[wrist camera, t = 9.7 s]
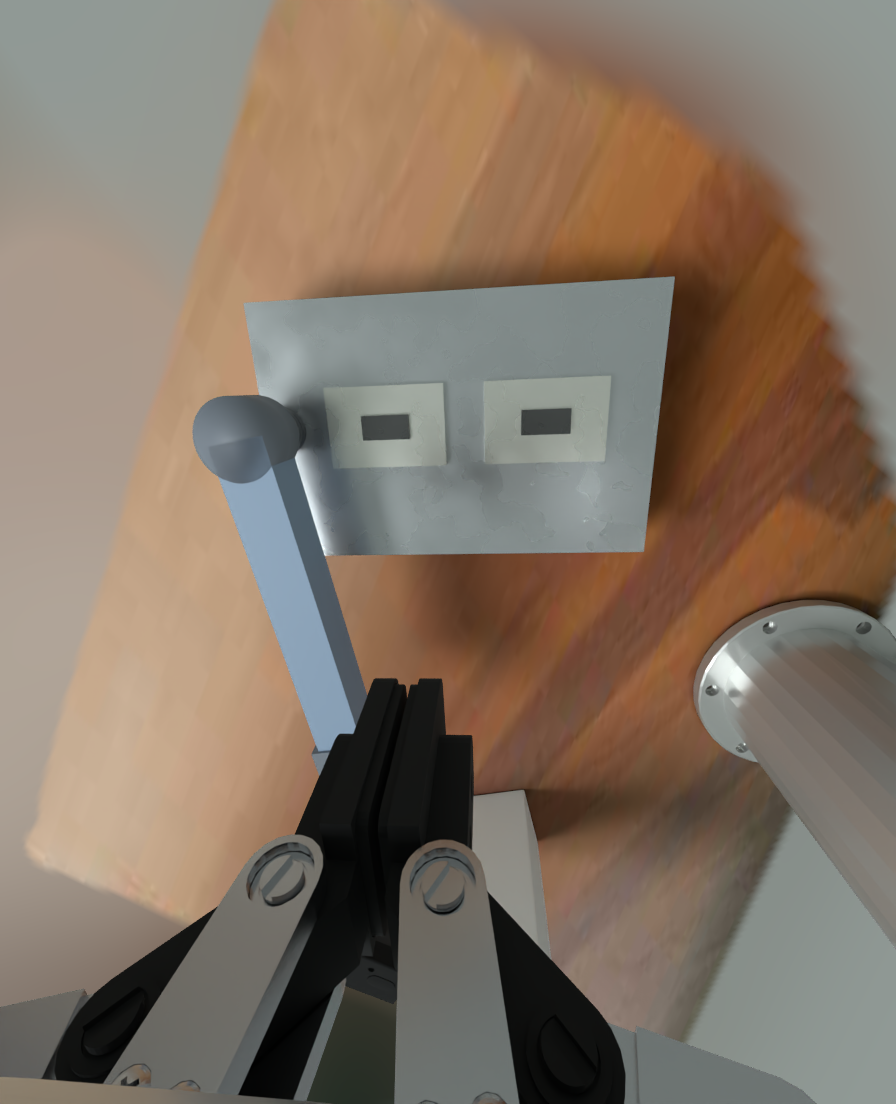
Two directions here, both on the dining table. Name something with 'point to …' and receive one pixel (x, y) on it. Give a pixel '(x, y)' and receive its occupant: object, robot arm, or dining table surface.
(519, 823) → the milk
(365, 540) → the plate
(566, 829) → the dining table surface
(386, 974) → the digital camera
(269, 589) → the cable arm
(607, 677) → the dining table surface
